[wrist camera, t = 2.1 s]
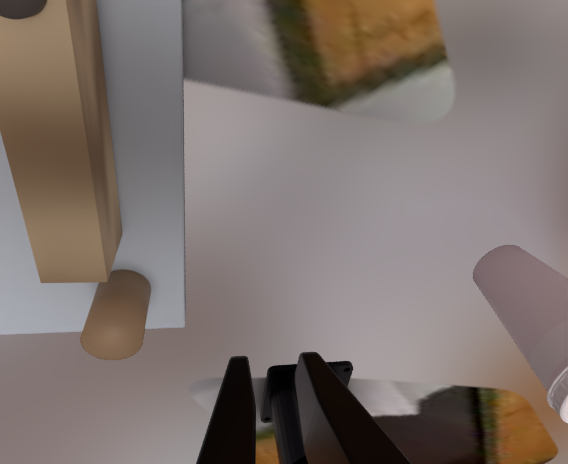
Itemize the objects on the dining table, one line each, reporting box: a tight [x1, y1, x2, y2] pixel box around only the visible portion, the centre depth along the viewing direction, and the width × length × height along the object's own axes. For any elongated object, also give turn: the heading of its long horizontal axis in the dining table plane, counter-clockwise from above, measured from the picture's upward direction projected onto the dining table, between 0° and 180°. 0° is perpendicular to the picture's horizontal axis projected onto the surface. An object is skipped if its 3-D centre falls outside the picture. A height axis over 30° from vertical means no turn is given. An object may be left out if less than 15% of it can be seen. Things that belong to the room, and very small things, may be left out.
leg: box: [0, 0, 122, 283], centre depth 13 cm, size 11×2×4 cm, turn 172°
